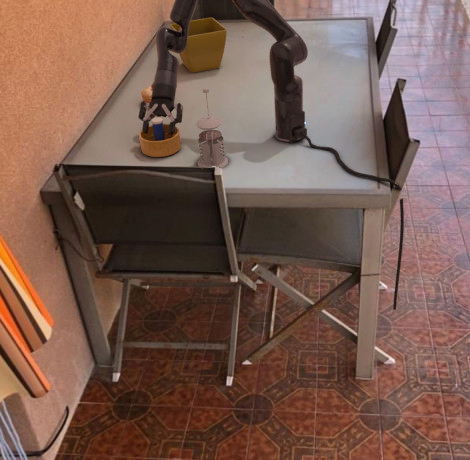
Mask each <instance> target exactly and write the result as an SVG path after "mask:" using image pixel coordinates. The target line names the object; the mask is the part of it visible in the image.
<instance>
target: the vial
mask: <svg viewBox="0 0 470 460" xmlns="http://www.w3.org/2000/svg"><path fill="white" fill-rule="evenodd" d="M150 122H151V124H152V125H153V131H154V138H155V141H162V140H165V135H164V128H163V124H164V119H163V117H162V116H161V117H157V116H155V117H154V118H153V119H152V120H151V121H150Z"/></svg>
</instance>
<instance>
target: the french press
mask: <svg viewBox="0 0 470 460" xmlns="http://www.w3.org/2000/svg"><path fill="white" fill-rule="evenodd" d="M209 92H210V89H209V88H207V87H204V88H203V89H202V93H204V94H205V99H206V108H207V111H209V105H208V104H209V103H208V102H209V101H208V93H209ZM222 124H223V120H222V119H220V118H219V117H217V116H210V115H209V112H207V115H206V116H204V117H201V118H200V119H198V120H197V121H196V122H195V126H196V127H197V128H198V129H200V130H203V131H201V132H200V133H198V139H197V142H198V143H197V144H198V151H199V159H198V161H197V166H198V167H199V168H201V167H212V166H216V167H220V169H222V168H224V167H226V166H227V165H228V163H229V159H228V158H227V157H226V154H225V143H224V137H223V134H222V132H221V131H220V130H218V129H217V128H219V127H220V126H221V125H222Z"/></svg>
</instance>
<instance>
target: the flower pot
mask: <svg viewBox="0 0 470 460" xmlns="http://www.w3.org/2000/svg"><path fill="white" fill-rule="evenodd" d="M169 28H171V29H174V30H176V31H179V30H180V26H179V25H177V24H176V23H174V22H173V23H170V24H169ZM227 30H228V29H227V28H226V27H224V26H223V25H222V23H220V22H219V21H217V19H215V17H214V18H213V17H205V18H199V19H191V21H190V26H189V31H188V42H187V47H186V49H185V50H184V51H183V52H182V53H180V54H178V56H179V58H180V60H181V61H182V64H183V65H184V66H185V67H186V68H187V70H188V71H189V72H190V73H191V74H195V73H199V72H204V71H209V70H215V69H219V68H220V67H221V64H222V61H223V57H224V54H225V48H226V40H227V32H228V31H227Z"/></svg>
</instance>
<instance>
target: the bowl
mask: <svg viewBox="0 0 470 460" xmlns="http://www.w3.org/2000/svg"><path fill="white" fill-rule="evenodd" d="M169 124H170V123H163V128H164V135H165V140H162V141H155V138H154V131H153V125H149V129H148V134H145V133H144V131H143V130H142V129H141V130H140V131H139V133H138V139H139V144H140V145H139V146H140V151H141V153H142V154H144V155H145V156H148V157H154V158H160V157H161V158H162V157H167V156H171V155H174V154H176V153H177V152H178V151H180V149H181V148H182V138H181V131H180V129H179V127H178V126H176V125H175V131H174V134H172V135H169V134H168V131H169Z"/></svg>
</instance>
